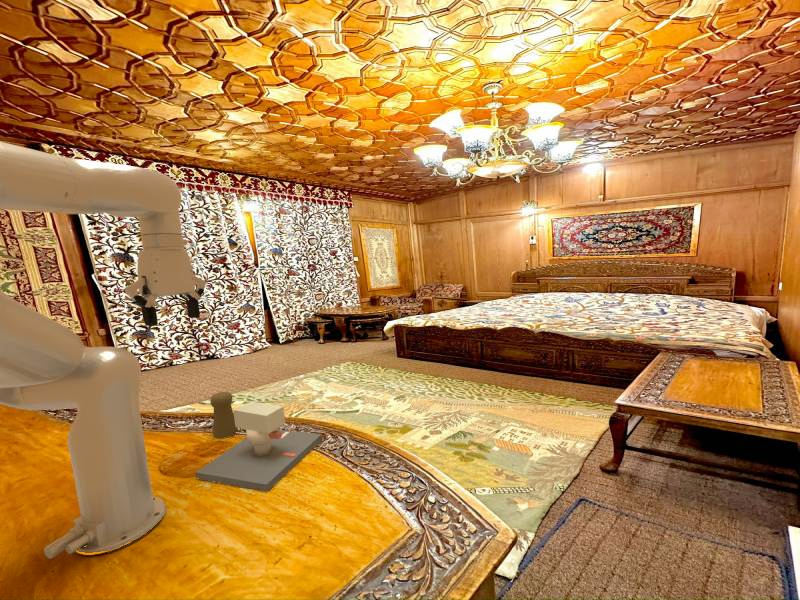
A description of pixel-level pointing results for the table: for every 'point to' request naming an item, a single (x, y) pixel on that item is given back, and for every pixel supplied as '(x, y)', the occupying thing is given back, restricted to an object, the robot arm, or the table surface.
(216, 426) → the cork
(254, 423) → the cream rectangular block
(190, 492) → the table surface
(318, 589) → the table surface
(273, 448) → the base plate
